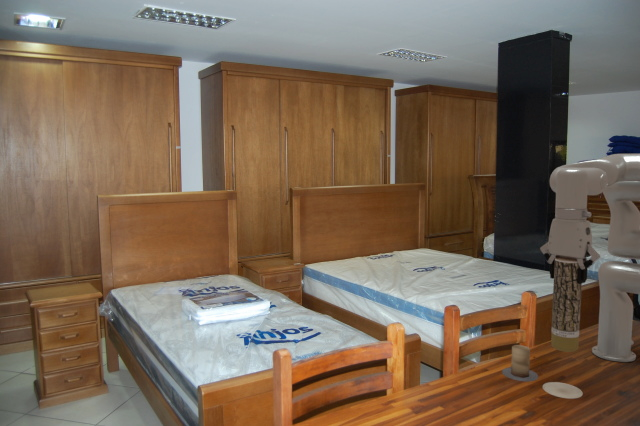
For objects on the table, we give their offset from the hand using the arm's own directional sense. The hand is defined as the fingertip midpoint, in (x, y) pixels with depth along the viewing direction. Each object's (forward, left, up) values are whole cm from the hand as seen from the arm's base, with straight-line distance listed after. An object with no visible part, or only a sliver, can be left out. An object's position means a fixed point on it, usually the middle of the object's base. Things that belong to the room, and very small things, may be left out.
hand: (567, 279), depth 136 cm
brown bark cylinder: (0, 0, -19) cm, 19 cm away
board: (0, -6, -32) cm, 33 cm away
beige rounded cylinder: (0, -13, -31) cm, 34 cm away
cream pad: (0, 0, -32) cm, 32 cm away
